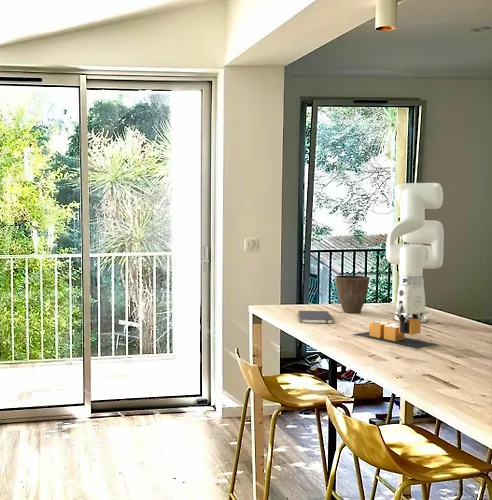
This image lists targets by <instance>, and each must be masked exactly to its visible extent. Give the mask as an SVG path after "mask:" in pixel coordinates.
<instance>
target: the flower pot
mask: <svg viewBox="0 0 492 500" xmlns="http://www.w3.org/2000/svg"><path fill="white" fill-rule="evenodd" d="M334 281H335V287H336V291H337V296H338V299H339V303H340V306H341V309H342V312H343V313H348V314H358V313H361V311H362V310H363V307H364V304H365V301H366V297H367V295H368V290H369V283H370V276H366V275H356V274H355V275H354V274H353V275H352V274H350V275H349V274H344V275H342V274H341V275H335V276H334Z"/></svg>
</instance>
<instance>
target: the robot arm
mask: <svg viewBox="0 0 492 500" xmlns="http://www.w3.org/2000/svg"><path fill="white" fill-rule="evenodd" d="M394 197H395V199H396V203H398V206H399V208H400V213H399V215H400V217H399V218H400V219H399V221H398V222H397V223H396V224H395V225H394V226H393V227H392V228H391V229H390V231H389V232H388V234H387V237H386V244H385V258H386V261H387V262H388V263H389V264H391V265H398V289H397V294H396V295H397V296H396V310H395V311H394V320H395V321H397V322H399V321H400V332H401V333H406V334H405V335H409V334H408V333H409V322H408V318H409V317H412V318H417V319H421V323H426V322H428V318H427V317H425V315H429V314H430V310H429V309H426V292H425V286H424V284H425V283H424V282H425V281H424V276H423V275H424V274H423V272H424V269H426V270H427V269H429V270H432V269H433V270H435V269H440V268H441V267H442V266H443V262H444V246H445V245H444V242H445V239H444V237H445V231H444V226H443V224H442V222H440V221H438V220H426V210H438V209H440V208H441V207H442V206H443V202H444V190H443V187H442V185H441V183H438V182H405V183H399V184H397V185H396V186H395V187H394ZM399 238H401V240H402V241H403V242H404V243H395V242H396V241H397V240H398V239H399ZM424 244H425V245H424ZM426 244H427V245H426Z"/></svg>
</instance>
